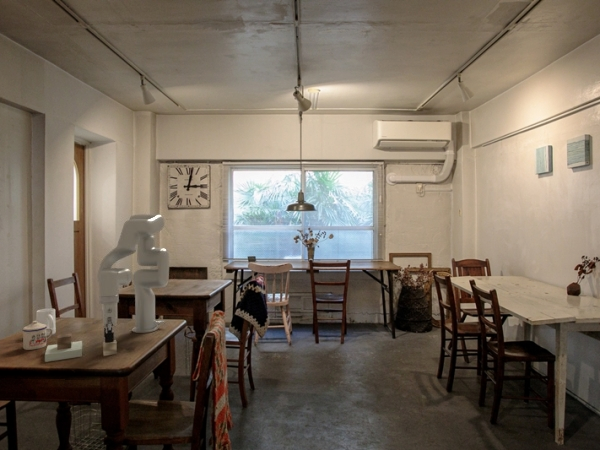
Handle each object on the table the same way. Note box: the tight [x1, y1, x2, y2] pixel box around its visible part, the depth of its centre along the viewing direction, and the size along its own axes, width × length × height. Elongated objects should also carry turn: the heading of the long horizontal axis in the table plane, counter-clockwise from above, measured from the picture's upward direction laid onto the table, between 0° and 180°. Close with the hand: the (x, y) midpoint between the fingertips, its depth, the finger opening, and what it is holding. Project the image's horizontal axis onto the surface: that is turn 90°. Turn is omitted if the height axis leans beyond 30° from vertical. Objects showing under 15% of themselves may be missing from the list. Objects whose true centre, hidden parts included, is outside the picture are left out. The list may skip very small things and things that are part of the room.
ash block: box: [102, 339, 118, 357], centre depth 166 cm, size 5×5×5 cm
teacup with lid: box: [22, 320, 53, 351], centre depth 176 cm, size 12×9×12 cm
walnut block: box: [56, 332, 73, 350], centre depth 165 cm, size 5×5×5 cm
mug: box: [35, 307, 57, 337], centre depth 193 cm, size 8×12×12 cm
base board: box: [44, 340, 83, 363], centre depth 165 cm, size 13×13×3 cm
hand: (108, 339), depth 165 cm, fingers open, 9 cm apart
